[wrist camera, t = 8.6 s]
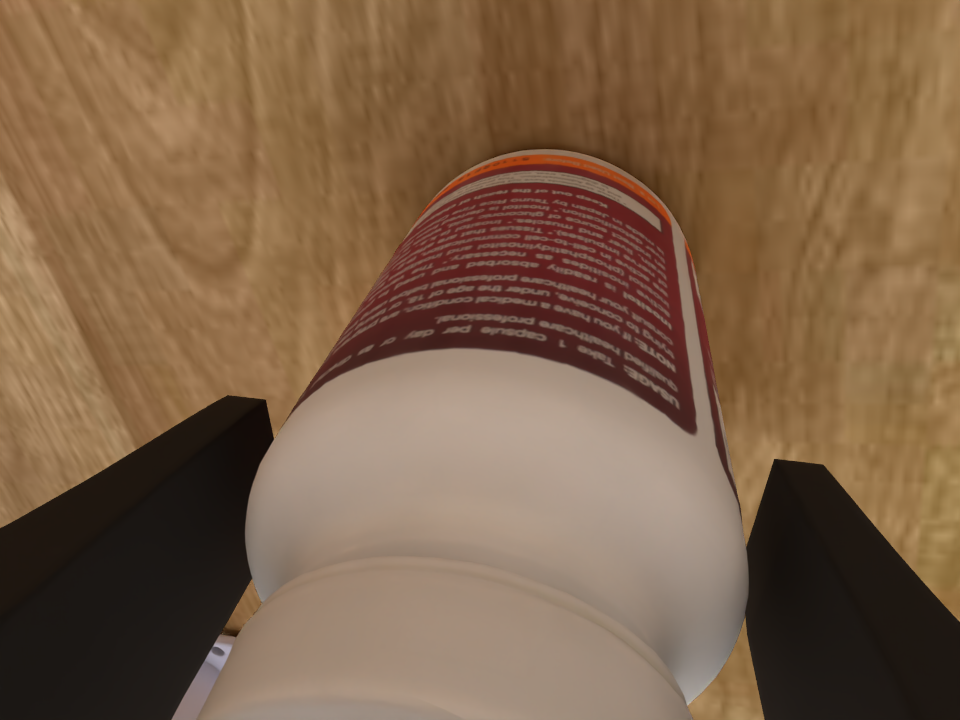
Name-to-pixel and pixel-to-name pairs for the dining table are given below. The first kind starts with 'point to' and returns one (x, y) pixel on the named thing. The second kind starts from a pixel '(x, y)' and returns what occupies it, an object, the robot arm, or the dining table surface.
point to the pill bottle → (502, 475)
